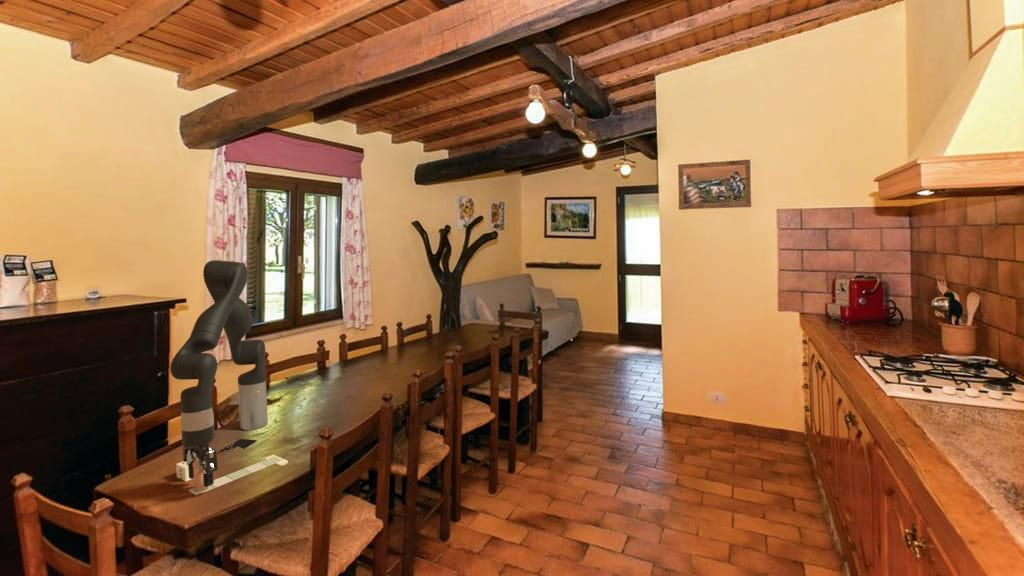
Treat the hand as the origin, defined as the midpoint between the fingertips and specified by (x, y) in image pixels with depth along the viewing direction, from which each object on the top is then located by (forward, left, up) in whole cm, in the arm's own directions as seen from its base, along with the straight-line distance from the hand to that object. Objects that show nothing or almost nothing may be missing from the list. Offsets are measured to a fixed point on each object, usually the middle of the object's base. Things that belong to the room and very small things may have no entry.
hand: (201, 481), depth 128 cm
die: (-11, +2, -3) cm, 12 cm away
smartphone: (-21, +19, -4) cm, 29 cm away
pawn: (0, 0, -2) cm, 2 cm away
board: (0, +10, -3) cm, 11 cm away
